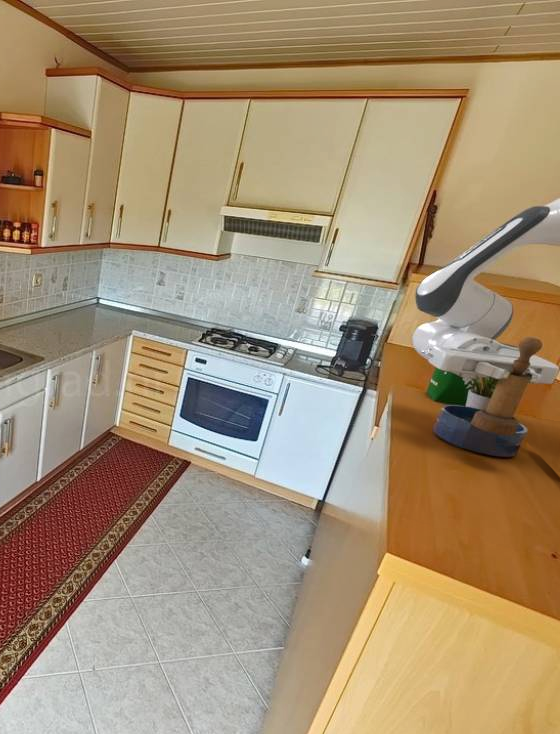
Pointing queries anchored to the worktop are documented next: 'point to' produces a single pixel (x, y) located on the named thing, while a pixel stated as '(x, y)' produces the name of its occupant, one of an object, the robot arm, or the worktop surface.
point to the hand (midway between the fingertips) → (520, 377)
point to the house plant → (481, 392)
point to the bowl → (475, 433)
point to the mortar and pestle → (508, 394)
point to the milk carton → (449, 387)
